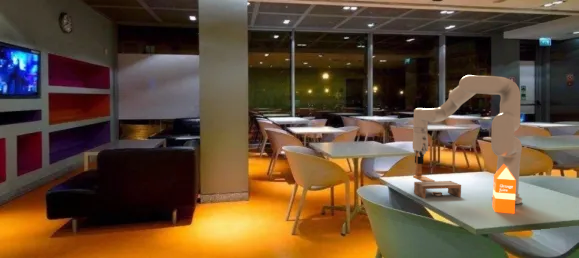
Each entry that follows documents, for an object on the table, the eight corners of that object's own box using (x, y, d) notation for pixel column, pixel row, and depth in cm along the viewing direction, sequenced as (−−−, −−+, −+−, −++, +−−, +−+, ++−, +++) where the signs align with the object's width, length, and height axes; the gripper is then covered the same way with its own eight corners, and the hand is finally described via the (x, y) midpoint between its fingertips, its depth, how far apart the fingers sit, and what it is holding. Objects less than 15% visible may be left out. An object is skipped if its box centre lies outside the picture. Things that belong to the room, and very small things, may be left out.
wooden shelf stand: (460, 196, 203) (461, 184, 202) (423, 198, 200) (423, 186, 199) (450, 192, 213) (450, 180, 212) (414, 193, 210) (414, 181, 209)
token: (444, 196, 204) (444, 193, 204) (434, 196, 203) (434, 194, 203) (439, 194, 209) (439, 191, 209) (429, 194, 208) (430, 191, 208)
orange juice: (511, 208, 182) (513, 164, 180) (514, 213, 173) (517, 167, 172) (491, 206, 184) (493, 163, 183) (494, 211, 176) (496, 166, 175)
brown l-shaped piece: (434, 183, 213) (436, 156, 212) (425, 183, 212) (427, 156, 211) (421, 177, 228) (422, 152, 226) (413, 177, 227) (414, 152, 226)
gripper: (433, 131, 217) (432, 165, 218) (419, 129, 232) (418, 161, 234) (420, 131, 215) (419, 166, 217) (407, 129, 231) (406, 161, 233)
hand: (419, 163), depth 225 cm, fingers closed on brown l-shaped piece
